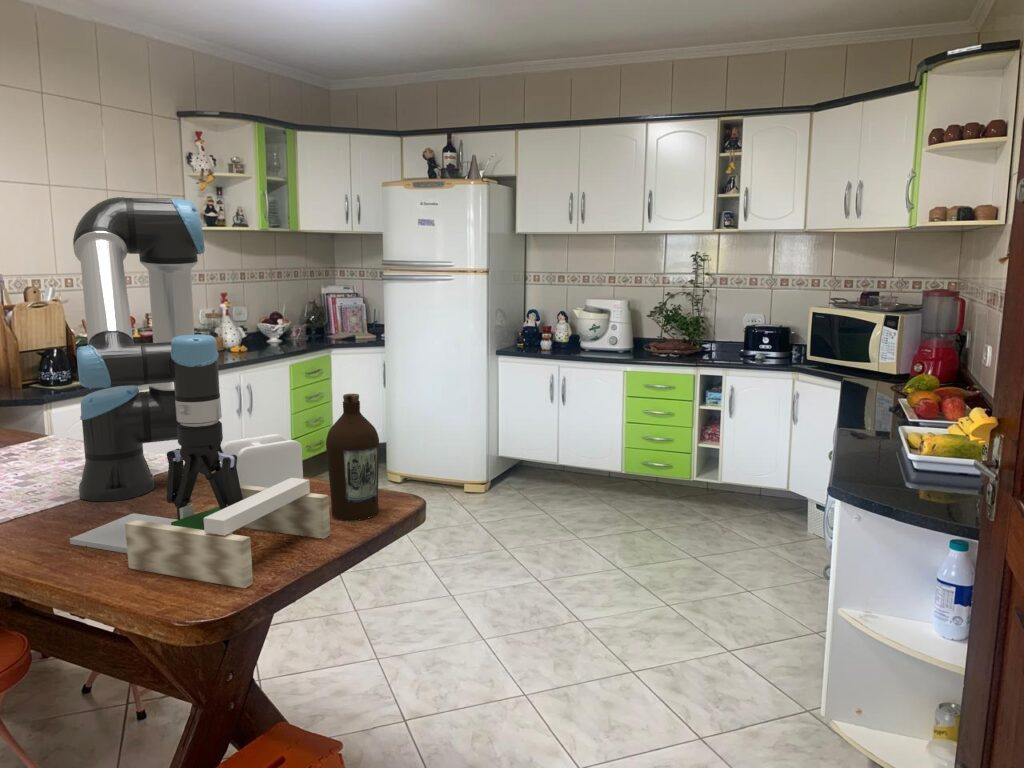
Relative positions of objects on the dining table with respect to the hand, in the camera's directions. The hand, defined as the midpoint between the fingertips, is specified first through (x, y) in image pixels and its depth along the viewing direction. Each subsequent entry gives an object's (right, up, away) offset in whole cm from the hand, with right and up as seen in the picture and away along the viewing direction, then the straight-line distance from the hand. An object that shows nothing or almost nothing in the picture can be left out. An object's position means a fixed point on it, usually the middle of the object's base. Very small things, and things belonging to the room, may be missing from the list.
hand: (207, 542), depth 143 cm
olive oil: (+24, +2, +18) cm, 30 cm away
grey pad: (-17, 0, +6) cm, 18 cm away
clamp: (0, -1, 0) cm, 1 cm away
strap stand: (+6, -1, -2) cm, 6 cm away
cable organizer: (-1, +5, +34) cm, 34 cm away
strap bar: (+12, +7, -5) cm, 14 cm away
